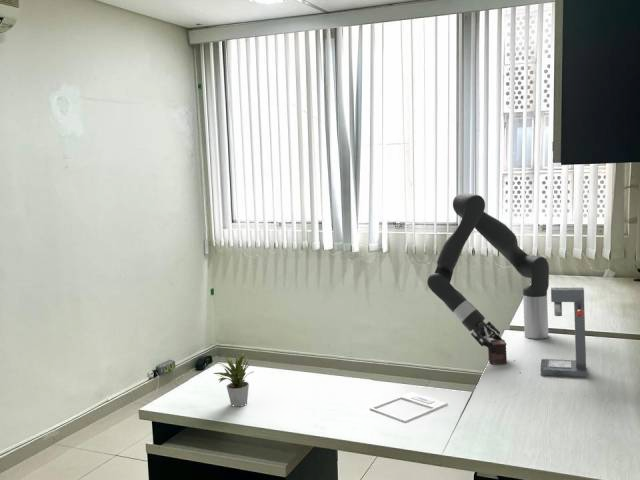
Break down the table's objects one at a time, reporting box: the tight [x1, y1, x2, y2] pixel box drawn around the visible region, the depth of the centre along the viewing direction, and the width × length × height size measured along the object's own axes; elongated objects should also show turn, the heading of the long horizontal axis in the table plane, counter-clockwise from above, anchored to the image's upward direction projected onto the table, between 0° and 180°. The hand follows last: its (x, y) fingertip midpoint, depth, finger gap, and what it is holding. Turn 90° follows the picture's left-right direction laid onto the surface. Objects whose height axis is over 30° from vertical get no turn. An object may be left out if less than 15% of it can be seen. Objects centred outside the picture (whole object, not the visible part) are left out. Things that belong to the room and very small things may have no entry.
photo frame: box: [369, 391, 448, 423], centre depth 180 cm, size 15×1×18 cm
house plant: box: [213, 351, 253, 407], centre depth 193 cm, size 14×14×16 cm
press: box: [539, 287, 588, 379], centre depth 199 cm, size 17×14×28 cm
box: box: [487, 339, 508, 365], centre depth 217 cm, size 6×6×7 cm
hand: (500, 349), depth 216 cm, fingers closed on box, 8 cm apart
